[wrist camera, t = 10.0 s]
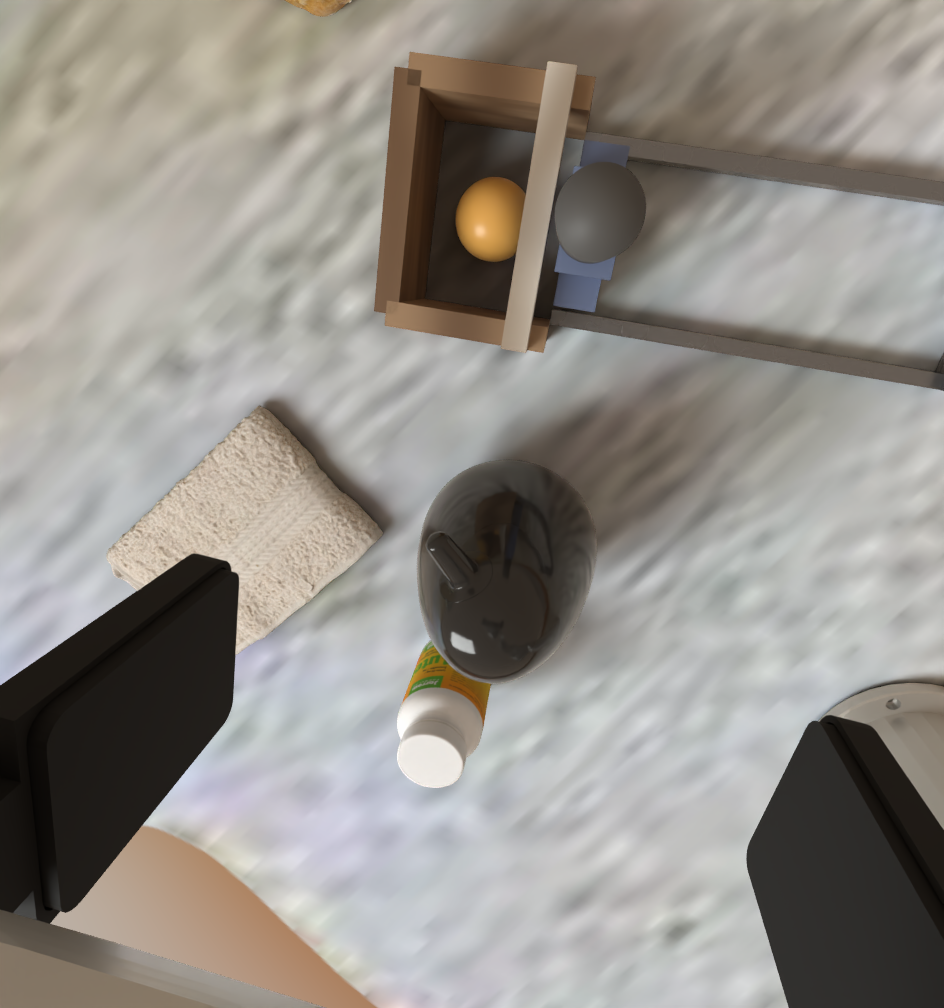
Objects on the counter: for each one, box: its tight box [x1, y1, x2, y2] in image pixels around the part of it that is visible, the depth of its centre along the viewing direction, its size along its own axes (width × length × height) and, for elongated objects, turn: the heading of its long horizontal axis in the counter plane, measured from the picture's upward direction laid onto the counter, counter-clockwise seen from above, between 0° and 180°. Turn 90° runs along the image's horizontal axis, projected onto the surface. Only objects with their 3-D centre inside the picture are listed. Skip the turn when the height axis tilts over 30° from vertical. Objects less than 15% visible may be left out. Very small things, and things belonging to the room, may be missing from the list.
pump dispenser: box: [417, 460, 597, 684], centre depth 32 cm, size 10×10×15 cm
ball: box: [456, 177, 526, 262], centre depth 31 cm, size 4×4×4 cm
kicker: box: [553, 140, 646, 312], centre depth 26 cm, size 3×7×13 cm, turn 172°
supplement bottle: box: [397, 640, 491, 788], centre depth 39 cm, size 5×5×10 cm
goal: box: [374, 52, 596, 353], centre depth 30 cm, size 9×11×7 cm
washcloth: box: [106, 406, 383, 655], centre depth 42 cm, size 12×18×3 cm, turn 132°
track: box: [550, 131, 944, 391], centre depth 31 cm, size 22×9×2 cm, turn 82°
